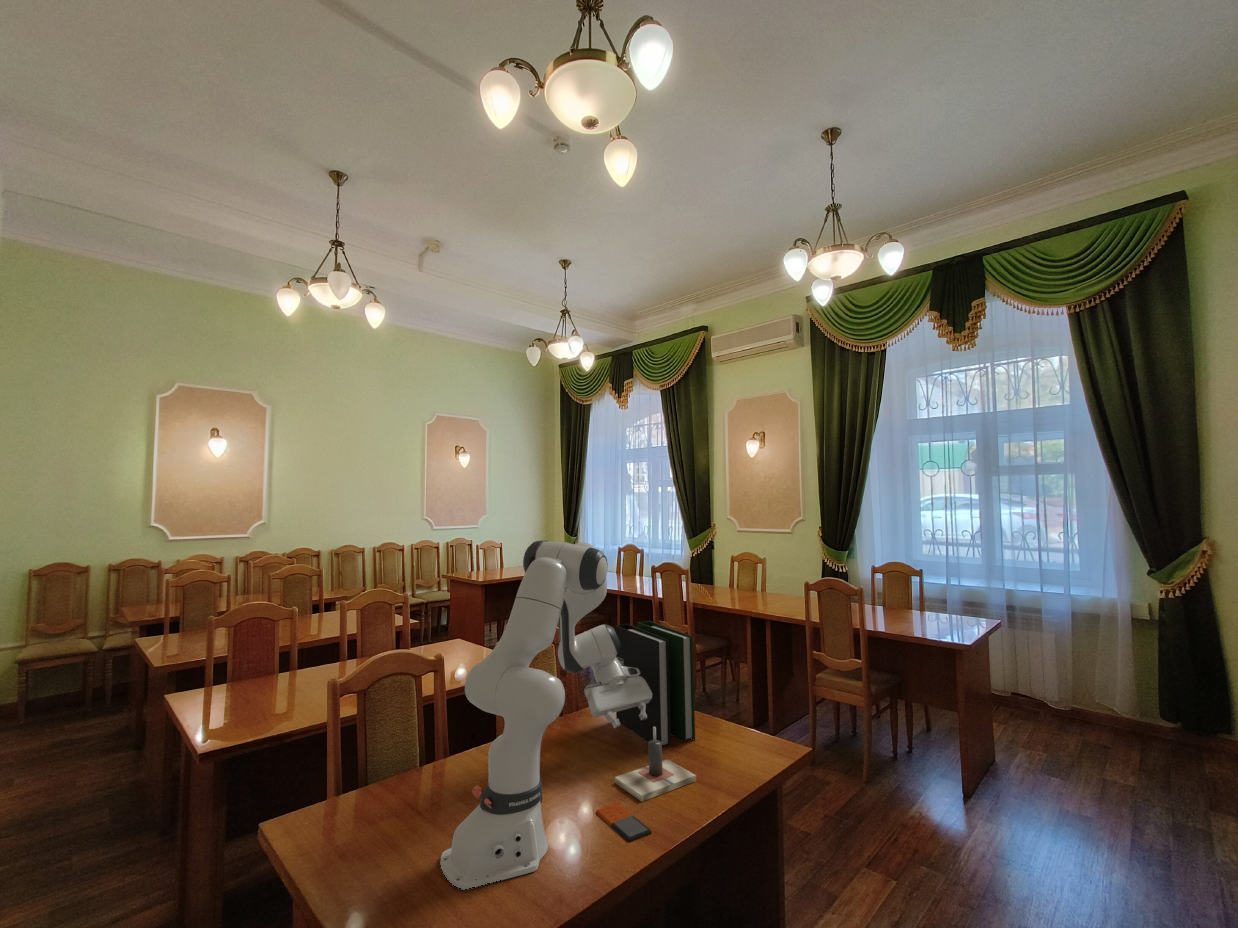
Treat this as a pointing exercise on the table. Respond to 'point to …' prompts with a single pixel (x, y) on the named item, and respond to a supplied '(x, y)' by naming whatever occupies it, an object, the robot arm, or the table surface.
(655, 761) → the grey cylinder with rod
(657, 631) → the binder
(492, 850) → the robot arm
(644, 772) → the cream flat block
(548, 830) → the table surface
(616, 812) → the phone
